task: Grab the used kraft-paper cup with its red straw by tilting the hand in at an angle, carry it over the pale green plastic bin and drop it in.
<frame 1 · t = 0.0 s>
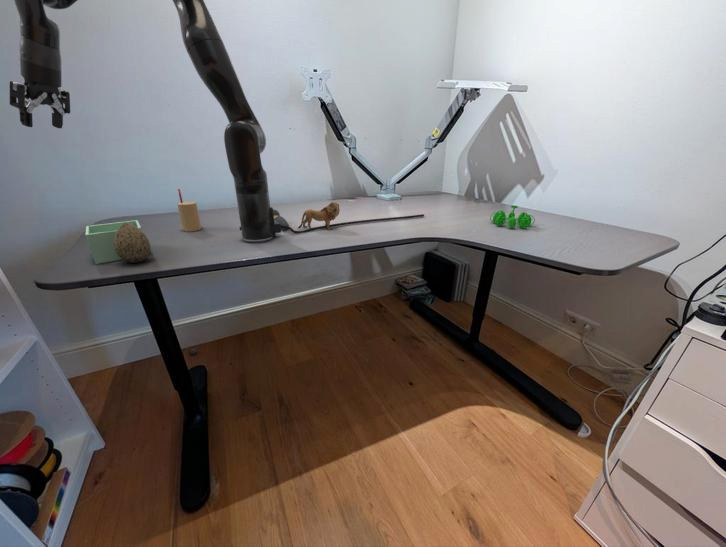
hand: (42, 126, 87), 31 cm above the table, tool tilted 20°, fingers open, 8 cm apart
paper cup: (192, 229, 107), on the table
lion figurine: (320, 228, 110), on the table
decorative egg: (137, 262, 78), on the table
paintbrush: (279, 226, 113), on the table
bin: (122, 254, 84), on the table
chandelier: (510, 225, 116), on the table
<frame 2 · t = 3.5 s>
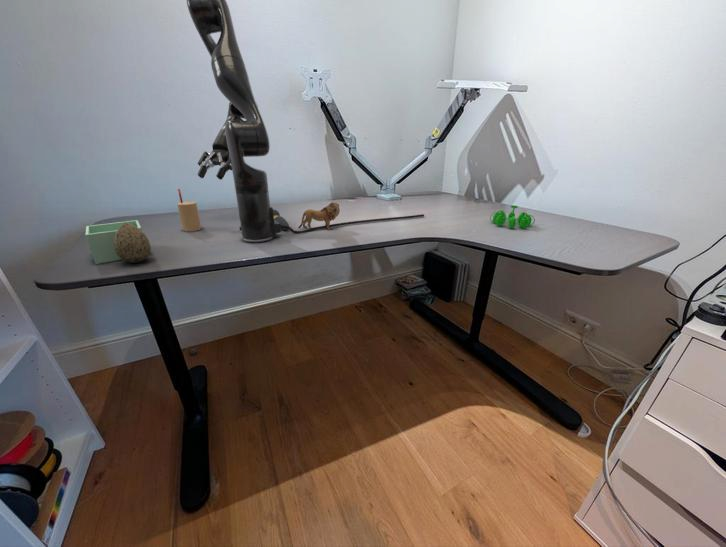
hand: (209, 177, 111), 16 cm above the table, tool tilted 45°, fingers open, 8 cm apart
nothing on the table moved.
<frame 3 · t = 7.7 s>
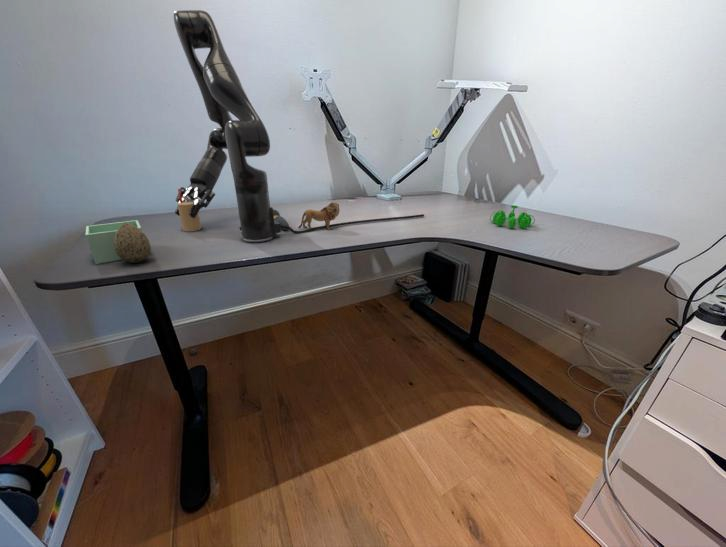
hand: (184, 215, 103), 5 cm above the table, tool tilted 45°, fingers closed on paper cup, 5 cm apart
paper cup: (192, 229, 107), on the table, touching gripper
everything else where it was.
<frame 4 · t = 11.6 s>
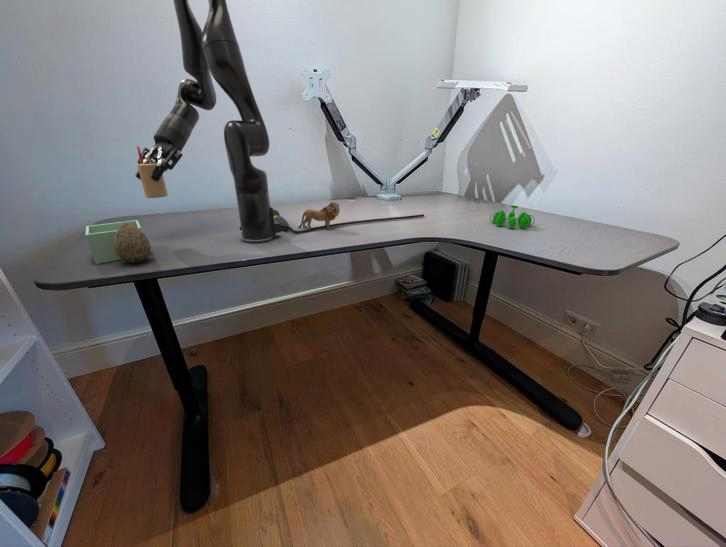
hand: (146, 178, 89), 18 cm above the table, tool tilted 45°, fingers closed on paper cup, 5 cm apart
paper cup: (157, 196, 92), point 13 cm above the table, touching gripper
everything else where it was.
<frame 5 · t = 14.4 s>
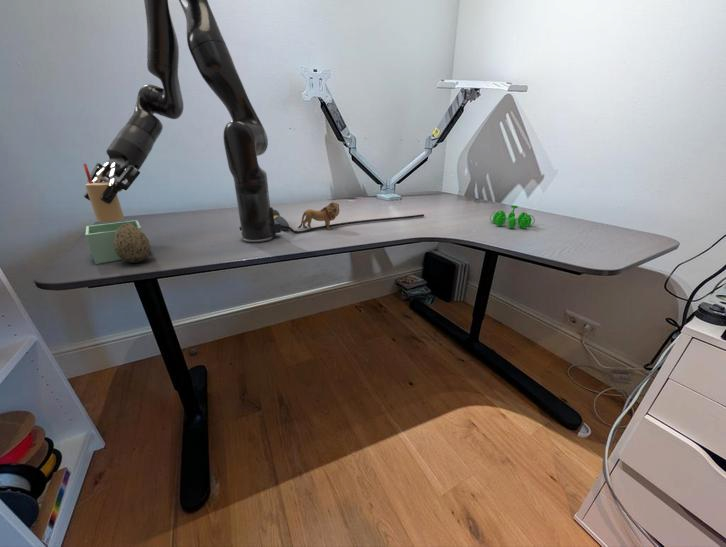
hand: (96, 200, 77), 15 cm above the table, tool tilted 45°, fingers closed on paper cup, 5 cm apart
paper cup: (110, 219, 80), point 9 cm above the table, touching gripper
everything else where it was.
when the fingers open (11 cm above the table, at t = 15.9 s): paper cup drops 5 cm, point 1 cm above the table.
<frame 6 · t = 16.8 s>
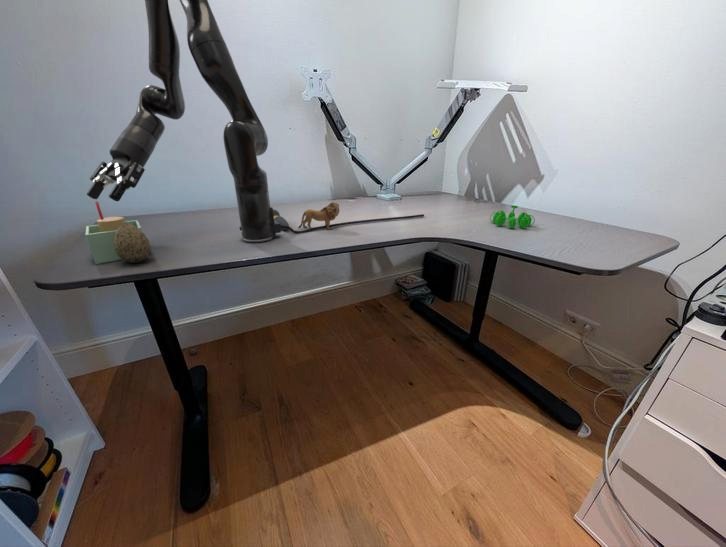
hand: (102, 198, 77), 15 cm above the table, tool tilted 45°, fingers open, 8 cm apart
paper cup: (121, 252, 84), point 1 cm above the table
everything else where it was.
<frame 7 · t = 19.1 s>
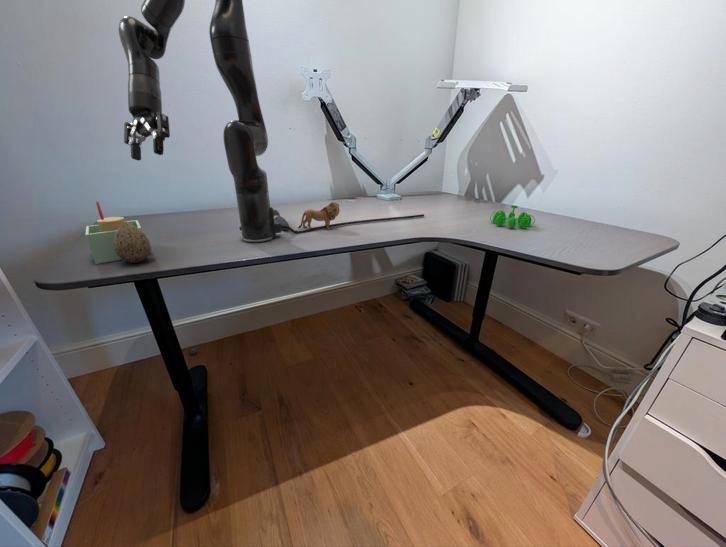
hand: (147, 156, 85), 24 cm above the table, tool tilted 25°, fingers open, 8 cm apart
paper cup: (121, 252, 84), resting on bin
everything else where it was.
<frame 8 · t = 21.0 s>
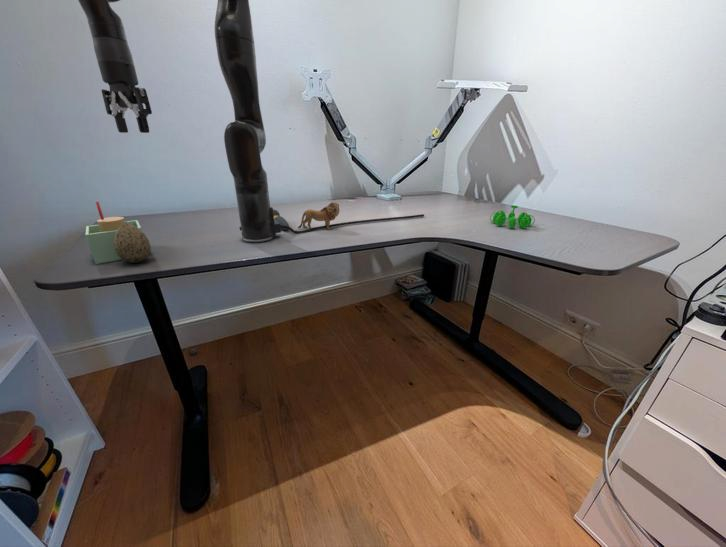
hand: (134, 132, 85), 30 cm above the table, tool pointing down, fingers open, 8 cm apart
nothing on the table moved.
at the end: paper cup inside the target area in the bin (0.2 cm from its centre), point 0.5 cm above the bin's base; the gripper is holding nothing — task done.
